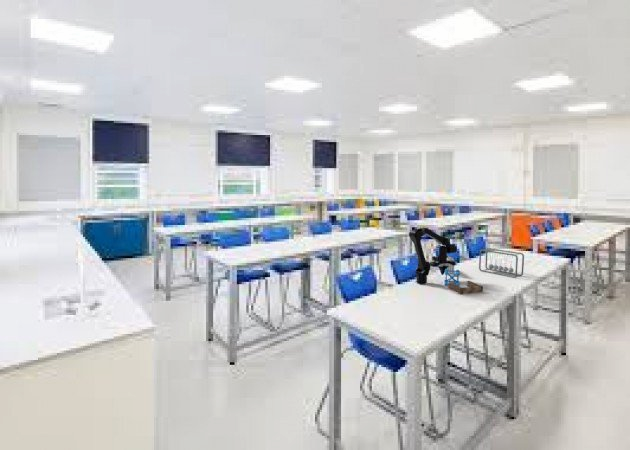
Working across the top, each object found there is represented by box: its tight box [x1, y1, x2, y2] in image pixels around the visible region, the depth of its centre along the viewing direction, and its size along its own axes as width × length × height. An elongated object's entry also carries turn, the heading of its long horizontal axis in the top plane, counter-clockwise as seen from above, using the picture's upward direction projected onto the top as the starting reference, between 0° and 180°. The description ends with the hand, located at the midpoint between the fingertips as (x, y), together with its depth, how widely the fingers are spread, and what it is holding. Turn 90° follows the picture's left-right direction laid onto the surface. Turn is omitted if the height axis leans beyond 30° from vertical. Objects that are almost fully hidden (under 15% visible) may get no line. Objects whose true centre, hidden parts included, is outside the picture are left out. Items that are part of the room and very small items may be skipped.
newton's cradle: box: [478, 247, 525, 279], centre depth 292 cm, size 30×10×18 cm, turn 35°
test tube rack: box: [447, 254, 458, 278], centre depth 297 cm, size 25×4×13 cm, turn 0°
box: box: [447, 280, 484, 295], centre depth 250 cm, size 16×14×4 cm
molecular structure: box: [444, 269, 461, 287], centre depth 264 cm, size 10×10×10 cm
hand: (442, 274), depth 275 cm, fingers closed
